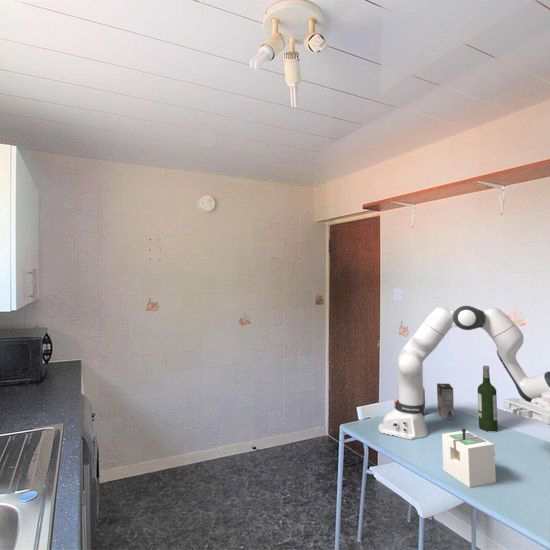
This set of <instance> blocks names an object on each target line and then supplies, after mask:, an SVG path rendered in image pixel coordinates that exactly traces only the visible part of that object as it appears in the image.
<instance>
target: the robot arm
mask: <svg viewBox="0 0 550 550" xmlns="http://www.w3.org/2000/svg"><path fill="white" fill-rule="evenodd" d="M454 327H458V329H461V330H464V331H472V330H475V329H479V328H480V329H483V330H484V331H485V332H486V333H487V335H488V336H489V337H490V338H491V339H492V341H493V342H494V345H495V347H496V348H497V349H496V354H497V357H498V359H499V360H500V362H501V364H502V365H503V368H504V369H505V371H506V372H507V374H508V375H509V377H510V378H511V380H512V381H513V384H514V385H515V387H516V390H517V392H518V394H519V396H520V397H521V398H522V399H521V398H515V397H514V398H504V400H503V407H504V409H507V410H509V411H511V414H513V415H515V416H519V417H527V418H530V419H533V420H535V421H538V422H540V423H543V424H545V425H549V426H550V371H545V372H543V373H540V374H537V375H534V376H532V377H529V376H527V374H526V373H525V371H524V370H523V368H522V366H521V365H520V363H519V362H518V360H517V353H518V352H519V350H520V349H521V348H522V346H523V344H524V341H525V340H524V334H523V332H522V330H521V329H520V328H519V327H518V326H517V325H516V324H515V322H514V321H513V320H512V319H511V318H510V317H509V316H508V315H507V314H506V313H505V312H503V311H502V310H501V309H500V308H498V307H489V308H487V309H484V310H481V309H478V308H476V307H474V306H471V305H461V306H459V307H458V308H456V309H454V310H451V309H449V308H447V307H444V306H438V307H436V308H435V309H433V310H432V311H431V312H430V313H429V314H428V316H427V317H426V318H425V319H424V320H423V322H422V323H421V324H420V326H419V327H418V328H417V330H416V331H415V333H414V334H413V335H412V336H411V337H410V338H409V340H408V341H407V342H406V344H404V346H403V347H402V348H401V350H399V353H398V355H397V361H396V365H397V368H396V369H397V386H398V390H397V391H398V398H395V399H394V400H393V401H394V404H393V405H394V408H393V409H391V410H389V411H388V412H386V413H385V415H384V416H383V420H382V422H380V423H379V424H378V426H377V427H378V428H377V429H378V430H379V431H380V432H381V433H380V432H379V431H378V432H379V433H380V434H383V433H385V434H384V435H387V434H389V435H388V436H392V435H394V436H393V437H396V436H397V437H396V438H400V439H401V438H402V439H406V440H410V441H411V440H412V441H414V440H416V439H420V438H422V439H423V438H425V437H428V436H429V432H428V429H427V423H426V419H425V418H426V417H425V414H426V405H425V406H424V402H423V388H424V380H423V379H424V378H423V377H424V373H423V371H424V370H423V368H424V367H423V362H424V361H425V360H426V359H427V358H428V357H429V355H431V353H432V352H434V350H436V348H437V347H438V345H439V344H440V342H441V341H442V340H443V339H444V337H445V336H446V335H447V334H448V332H449V331H450V330H451V329H453V328H454ZM382 423H383V424H382Z"/></svg>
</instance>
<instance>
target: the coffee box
mask: <svg viewBox="0 0 550 550" xmlns="http://www.w3.org/2000/svg"><path fill="white" fill-rule="evenodd" d="M436 393H437V397H436V398H437V413H438V414H439V416H440V418H441V419H443V420H446V419H447V420H455V408H454V406H455V405H454V402H455V401H454V388H453V386H452V385H451V384H450V383H440V382H439V383H436Z"/></svg>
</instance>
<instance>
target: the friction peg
mask: <svg viewBox="0 0 550 550" xmlns="http://www.w3.org/2000/svg"><path fill="white" fill-rule="evenodd" d="M461 431H462V432H463V440H465V432H466V428H464V427H463V428H461ZM495 451H496V450H494V452H495ZM456 458H457V459H458V460H460V452H459V451H457V450H456Z"/></svg>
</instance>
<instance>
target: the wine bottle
mask: <svg viewBox="0 0 550 550" xmlns="http://www.w3.org/2000/svg"><path fill="white" fill-rule="evenodd" d="M497 400H498V396H497V389H496V387H495V386H494V385H492V383H491V376H490V366H489V365H483V366H482V382H481V384H479V385H478V387H477V410H478V413H477V414H478V428H479V429H480V430H481V429H482V431H484V430H485V431H484V432H488V431H496V432H498V431H497V430H499V426H498V424H499V422H498V403H497V402H498V401H497Z"/></svg>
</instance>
